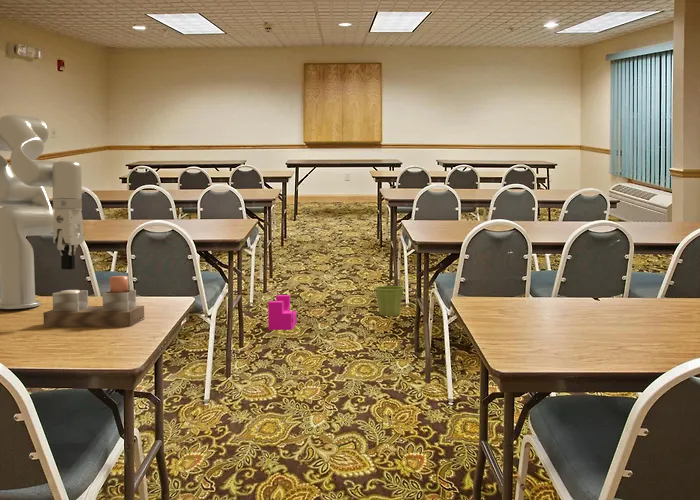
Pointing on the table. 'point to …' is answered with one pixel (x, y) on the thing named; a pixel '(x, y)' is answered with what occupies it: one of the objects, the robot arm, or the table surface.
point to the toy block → (281, 314)
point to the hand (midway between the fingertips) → (68, 268)
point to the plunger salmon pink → (119, 284)
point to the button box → (93, 310)
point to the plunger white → (70, 291)
